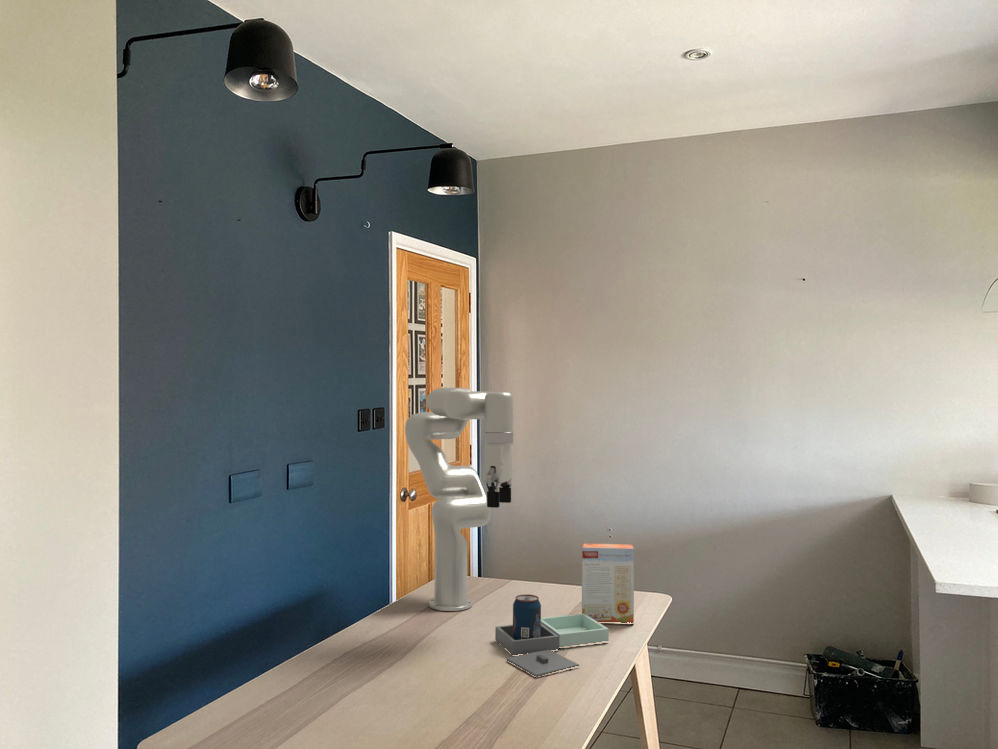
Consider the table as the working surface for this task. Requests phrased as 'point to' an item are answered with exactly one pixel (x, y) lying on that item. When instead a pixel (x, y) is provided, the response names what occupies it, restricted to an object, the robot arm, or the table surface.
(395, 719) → the table surface
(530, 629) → the soda can
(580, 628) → the bin
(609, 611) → the cracker box
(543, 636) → the bin
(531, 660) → the lid
